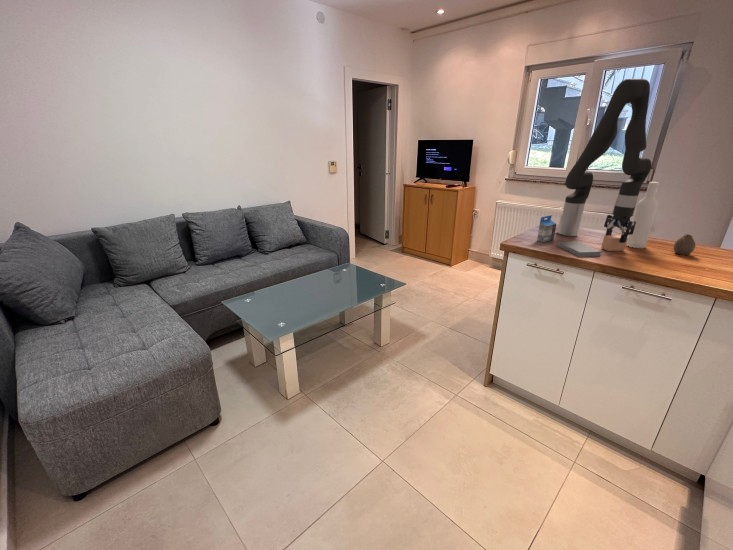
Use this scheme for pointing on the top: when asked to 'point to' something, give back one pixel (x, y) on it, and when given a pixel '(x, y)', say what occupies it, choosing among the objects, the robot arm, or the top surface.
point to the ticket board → (579, 249)
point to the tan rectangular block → (613, 243)
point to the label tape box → (546, 229)
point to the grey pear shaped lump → (684, 245)
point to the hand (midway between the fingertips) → (614, 239)
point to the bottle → (644, 217)
